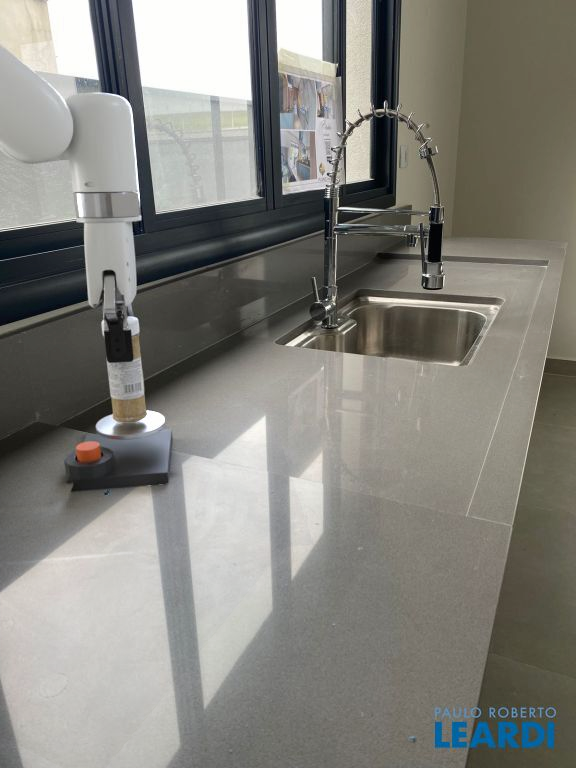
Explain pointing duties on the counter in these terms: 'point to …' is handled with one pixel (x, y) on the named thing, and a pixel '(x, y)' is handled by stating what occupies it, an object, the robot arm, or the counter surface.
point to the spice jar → (128, 382)
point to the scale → (123, 463)
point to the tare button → (88, 451)
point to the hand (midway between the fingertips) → (123, 354)
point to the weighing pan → (130, 427)
